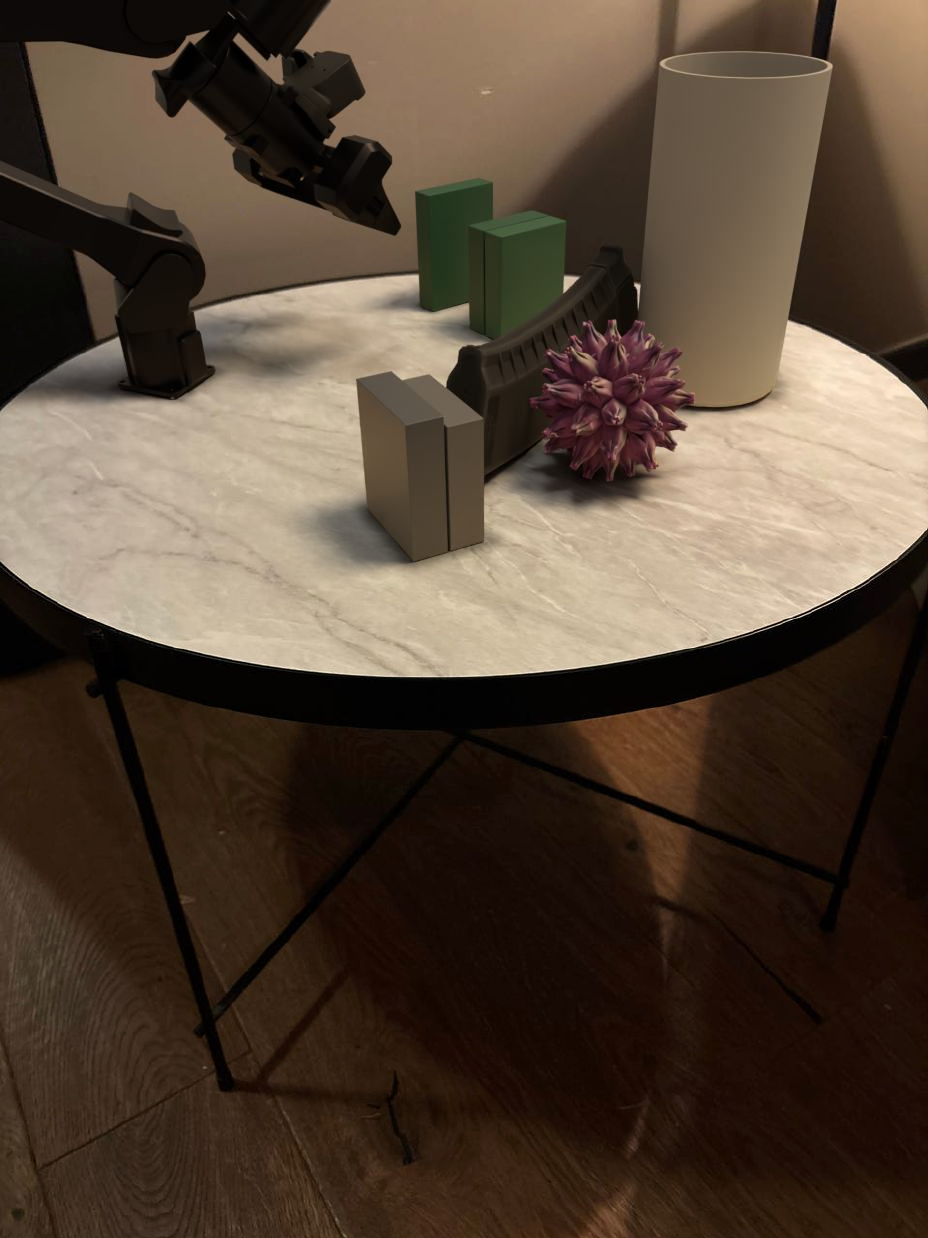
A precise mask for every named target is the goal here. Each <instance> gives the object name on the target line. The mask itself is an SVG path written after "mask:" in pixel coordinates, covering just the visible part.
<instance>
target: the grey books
mask: <svg viewBox="0 0 928 1238" xmlns="http://www.w3.org/2000/svg"><path fill="white" fill-rule="evenodd" d="M355 383H356V393H357V395H356V396H357V405H358V416H359V417H358V418H359V428H360V441H361V451H362V463H363V474H364V487H365V498H366V509H367V510H368V511H369V513H371V515H372V516H373V517H374V518H375V520H377V522H378V523H379V524H380V525H381V527H382V528H383V529H384V530H385V531H386V532H387V533H388V534H389V536H390V537H391V538H392V539H393V540H394V541H395V542H396V544H397V545H398V546H399V547H400V548H401V550H402V551H403V552H404V553H405V554H406V555H407V557H408V558H409V559H410V560H411V561H412V562H413V563H414V562H418V561H421V560H424V559H428V558H431V557H436V556H439V555H441V554H445V553H448V552H449V551H456V550H459V549H462V548H466V547H469V546H473V545H477V544H479V543H483V542H485V476H484V425H483V418H482V417H481V416H480V415H479V414H477V413H476V412H475V411H474V410H473V409H471V408H470V407H469V406H468V405H466V404H465V403H464V402H463V401H462V400H460V399H459V398H458V397H457V396H455V395H454V394H453V393H452V392H451V391H449V390H448V389H447V388H446V386H444V385H443V384H442V383H441V382H439V381H438V380H437V379H436V378H435V377H434V376H432V375H431V374H430V373H428V374H424V375H419V376H415V377H410V378H406V379H405V378H404V379H401V378H400V377H399V376H398V375H397V374H396V373H394V372H393V371H391V370H390V371H386V372H385V371H384V372H381V373H376V374H372V375H368V376H367V375H366V376H363V377H362V376H361V377H358V378H356V379H355Z"/></svg>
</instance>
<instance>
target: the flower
mask: <svg viewBox="0 0 928 1238" xmlns="http://www.w3.org/2000/svg"><path fill="white" fill-rule="evenodd" d="M644 326H645V321H642V322H640V321H637V320H635V322H634V324H633V326H632V328H631V329H630V330H629V331H628V332H627V333H626V334H625V335H624V336H623V337H622V338H621V336H620V335H619V333H618V331H617V326H616V320H615V319H614V320H611V321H608V327H607V330H606V332H605V334H604V336H602V335H601V334H600V333H598V332H597V331H596V330H595V329H594V327H593V324H592V322H591V321H588V323H587V322H583V331H584V335H583V341H582V342H581V341H579V340H578V338H577V337H576V336H575V335H574V336H571V337H570V339H568V341H569V343H570V347H568V348H566V351H565V354H559V353H555V352H554V351H552V350H550V349H548V350H547V351H546V353H544V354H543V355H544V357H545V358H546V359H547V360H548V361H549V362H550V363H551V366H552V368H553V370H550V369H547V368H544V370H543V371H542V376H544V377H546V378H547V379H549V381H550V382H551V383H552V384H544V386H543V387H542V389H543V391H542V392H544V394H542V395H541V396H539V397H535V398H530V399H529V401H530V402H531V403H530V404H531V406H530V407H531V408H537V409H540V410H542V411H543V412H545V416H546V418H554V419H553V421H552V423H551V425H550V426H549V427H548V428H547V429H545V430H544V431H542V433H543V438H544V440H545V441H547V440H548V441H547V442H546V443H545V444H544V446H543V448H545V451H544V452H545V453H546V454H551V453H552V452H555V451H558V450H559V451H560V450H566V451H567V453H568V454H570V455H572V460H571V462H570V464H569V467H570V468H571V469H572V470H574V471H577V470H578V469H579V467H580V466H581V465H582V468H583V470H582V471H583V472H582V478H585V479H587V480H588V479H589V480H592V478H593V477H594V474H595V472H597V471H598V470H599V469H600V468H601V467H603V469H604V472H605V475H606V482H611V481H613V480H614V474H615V471H616V469H617V466H618V465H620V466H622V468H623V469H624V472H625V474H626V476H627V477H629V478H632V477H633V476H634V477H635V475H636V468H635V467H636V463H637V464H640V465H641V466H643V467H644V468H645V470H646V471H647V472H648V473H650V472H651V471H652V470H655V471H656V470H657V468H659V463H658V461H657V459H656V447H658V448H665V449H666V450H668V451H670V452H674V453H675V450H676V447H677V446H678V441H676V439H674V438H673V435H672V433H671V432H674V431H681V432H687V431H686V429H687V428H688V427H689V424H688V423H687V422H685V421H683V420H681V419H679V417H678V416H677V415H676V414H675V412H677V411H678V410H679V409H681V408H682V407H685V406H690V404H694V403H695V402H694V401H695V398H694V396H695V393H689V392H684V391H682V390H680V389H681V388H683V387H684V385H685V384H686V383H685V381H683V380H682V379H676V380H674V379H673V377H674V376H675V375H676V374H678V373H679V372H680V368H679V366H678V365H676V366H674V367H672V365H673V364H674V362H675V361H676V360H677V359H678V358H679V357H680V356H681V355H682V353H683V350H681V351H679V347H676V348H674V349H672V350H671V351H669V352H665V353H660V352H661V350H662V349H663V348H664V345H662V343H661V342H657V343H656V344H655V345H654V346H652V343H653V341H654V339H655V338H654V337H653V335H650V334H647V335H646V336H645V337H644V338H643V329H644Z"/></svg>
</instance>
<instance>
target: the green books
mask: <svg viewBox="0 0 928 1238" xmlns="http://www.w3.org/2000/svg"><path fill="white" fill-rule="evenodd" d="M566 237H567V220H564V219H561V218H559V217H555V216H553V215H548V214H545V213H542V212H539V211H537V210H534V209H533V210H531V209H530V210H528V211H524V212H518V213H515V214H510V215H506V216H502V217H499V218H493V220H489V221H485V222H480V223H476V224H472V225H468V258H469V302H468V312H469V313H468V314H469V315H468V316H469V318H468V319H469V323H468V324H469V329H471V330H472V331H475V332H476V333H479V334H481V335H483V336H486V337H487V338H490V339H492V340H495V339H497V338H499V337H501V336H503V335H505V334H507V333H508V332H510V331H511V330H513V329H514V328H516V327H518V326H520V325H521V324H523V323H525V322H526V321H528V320H530V319H531V318H533V317H534V316H536V315H537V314H539V313H540V312H541V311H543V310H544V309H546V308H547V307H548V306H549V305H550V304H552V303H553V302H554V301H555V300H556V299H557V298H559V297H560V296H561V295H562V294H563V293H564V287H565V285H564V284H565V261H566V239H567V238H566Z"/></svg>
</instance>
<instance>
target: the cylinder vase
mask: <svg viewBox="0 0 928 1238" xmlns="http://www.w3.org/2000/svg"><path fill="white" fill-rule="evenodd" d="M658 67H659V68H658V78H657V88H656V101H655V112H654V113H655V114H654V125H653V135H652V145H651V146H652V148H651V160H650V171H649V182H648V194H647V205H646V215H645V228H644V242H643V250H642V251H643V252H642V263H641V273H640V286H639V296H638V319H637V321H640V322H642V321H645V326H644V329H643V338H644V337H645V336H646V335H647V334H650V335H653V337H654V338H655V339H654V341H653V343H652V346H654V345H655V344H656V343H657V342H661V343H662V345H664V348H663V349H662V350H661V352H660V353H665V352H669V351H671V350H672V349H674V348H676V347H679V351H681V350H683V353H682V355H681V356H680V357H679V358H678V359H677V360H676V361H675V362H674V364H673V365H672V367H674V366H676V365H678V366H679V368H680V372H679V373H678V374H676V375H675V376H674V377H673V379H674V380H676V379H682V380H683V381H685V383H686V384H685V385H684V387H683V388H681V389H680V390H682V391H684V392H689V393H695V396H694V398H695V401H694V402H695V403H694V404H690V405H689V406H691V407H697V408H698V407H699V408H728V407H736V406H741V405H746V404H749V403H752V402H755V401H757V400H760V399H761V398H763V397H765V396H767V395H768V394H769V393H770V392H772V390H773V389H774V387H775V386H776V384H777V382H778V377H779V372H780V365H781V360H782V354H783V348H784V344H785V342H784V341H785V338H786V332H787V328H788V327H787V326H788V320H789V315H790V309H791V304H792V298H793V292H794V286H795V282H796V275H797V270H798V266H799V265H798V263H799V259H800V252H801V247H802V241H803V236H804V231H805V224H806V219H807V214H808V207H809V204H810V203H809V201H810V196H811V190H812V184H813V180H814V174H815V170H816V169H815V168H816V164H817V157H818V151H819V146H820V140H821V135H822V130H823V124H824V117H825V111H826V106H827V100H828V95H829V91H830V90H829V89H830V82H831V78H832V72H833V67H834V66H833V64H832V63H831V62H830V61H827V60H824V59H822V58H821V59H820V58H819V57H818V58H817V57H812V56H809V55H808V56H806V55H802V54H801V55H800V54H795V53H794V54H792V53H785V52H784V53H782V52H769V51H768V52H767V51H739V50H738V51H708V52H706V51H705V52H694V53H686V54H685V53H684V54H680V55H674V56H669V57H667V58H664V59H662V60H661V61H660V62H659V66H658Z"/></svg>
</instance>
